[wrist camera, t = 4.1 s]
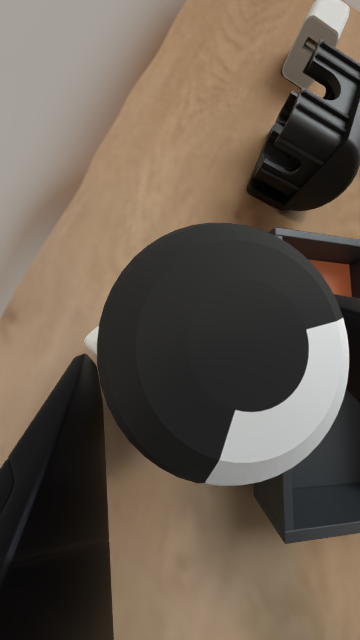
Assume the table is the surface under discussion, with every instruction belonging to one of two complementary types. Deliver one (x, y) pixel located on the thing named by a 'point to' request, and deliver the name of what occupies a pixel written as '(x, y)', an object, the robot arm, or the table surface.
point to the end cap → (313, 138)
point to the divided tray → (340, 441)
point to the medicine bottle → (222, 354)
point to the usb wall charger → (315, 37)
